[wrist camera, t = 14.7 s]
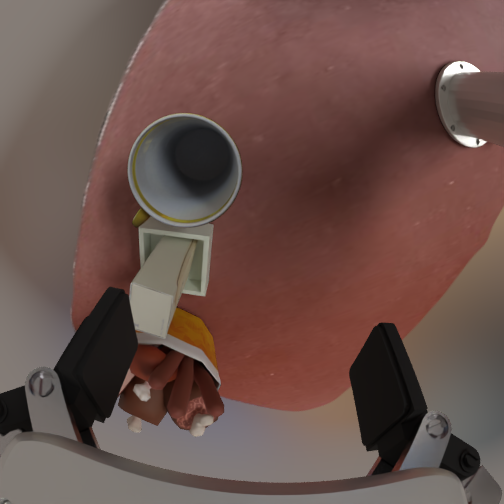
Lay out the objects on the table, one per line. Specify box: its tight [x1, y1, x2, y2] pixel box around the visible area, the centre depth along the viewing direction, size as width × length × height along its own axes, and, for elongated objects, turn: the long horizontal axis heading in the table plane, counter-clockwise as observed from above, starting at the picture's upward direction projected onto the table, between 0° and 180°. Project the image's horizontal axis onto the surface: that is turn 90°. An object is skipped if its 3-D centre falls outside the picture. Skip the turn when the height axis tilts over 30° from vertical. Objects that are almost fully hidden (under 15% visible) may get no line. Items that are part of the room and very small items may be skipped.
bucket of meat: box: [118, 308, 224, 437], centre depth 35 cm, size 20×16×20 cm
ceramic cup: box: [128, 113, 242, 228], centre depth 27 cm, size 13×10×10 cm
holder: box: [139, 217, 214, 296], centre depth 35 cm, size 9×9×4 cm
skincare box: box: [129, 235, 198, 339], centre depth 30 cm, size 6×4×12 cm
